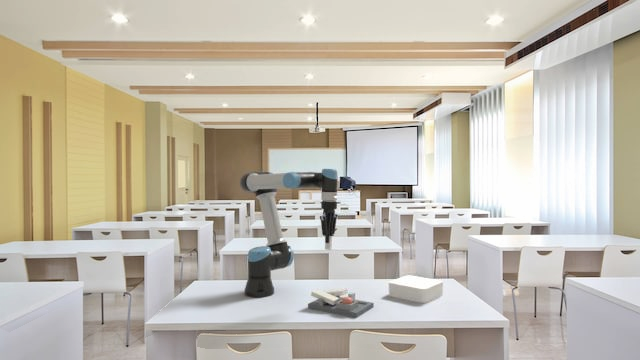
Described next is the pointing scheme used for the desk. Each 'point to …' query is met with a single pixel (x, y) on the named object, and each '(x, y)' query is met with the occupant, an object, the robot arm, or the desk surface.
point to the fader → (352, 295)
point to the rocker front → (325, 297)
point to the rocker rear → (336, 292)
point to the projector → (416, 288)
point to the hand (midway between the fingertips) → (328, 249)
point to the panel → (342, 307)
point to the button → (347, 300)
